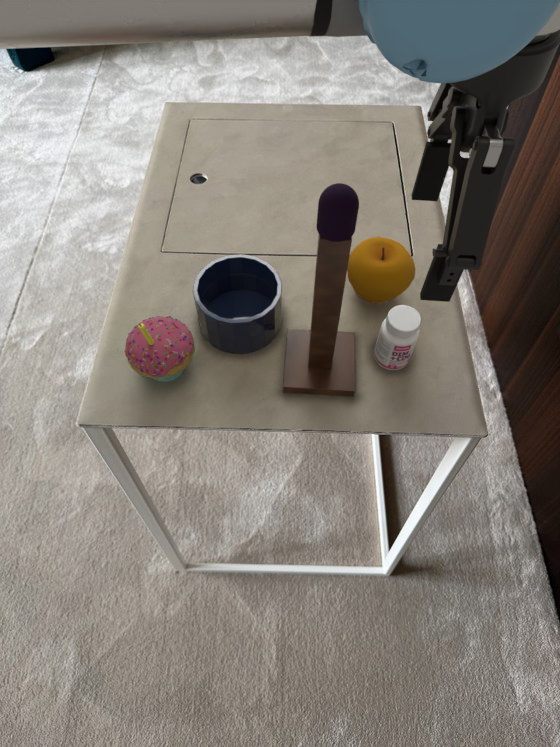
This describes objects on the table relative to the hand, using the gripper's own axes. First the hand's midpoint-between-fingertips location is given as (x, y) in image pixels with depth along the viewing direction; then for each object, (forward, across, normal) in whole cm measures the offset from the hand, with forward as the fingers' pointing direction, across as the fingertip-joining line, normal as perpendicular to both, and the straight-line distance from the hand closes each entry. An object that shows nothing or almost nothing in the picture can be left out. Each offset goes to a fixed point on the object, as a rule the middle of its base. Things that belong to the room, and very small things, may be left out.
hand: (428, 245), depth 55 cm
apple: (+20, +10, +2) cm, 23 cm away
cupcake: (+21, -4, +29) cm, 36 cm away
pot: (+21, +4, +20) cm, 29 cm away
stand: (+20, -2, +9) cm, 23 cm away
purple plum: (-4, -2, +10) cm, 11 cm away
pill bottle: (+20, 0, 0) cm, 21 cm away
